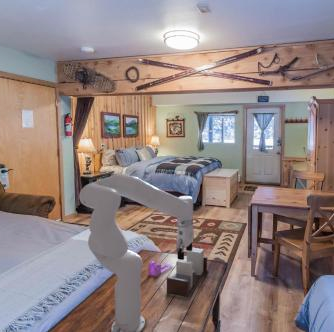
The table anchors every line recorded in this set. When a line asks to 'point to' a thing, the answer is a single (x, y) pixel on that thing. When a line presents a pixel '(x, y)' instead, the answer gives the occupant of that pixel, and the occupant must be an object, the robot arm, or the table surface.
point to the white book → (185, 268)
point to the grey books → (187, 278)
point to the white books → (196, 259)
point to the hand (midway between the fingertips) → (185, 254)
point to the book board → (183, 283)
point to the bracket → (157, 268)
